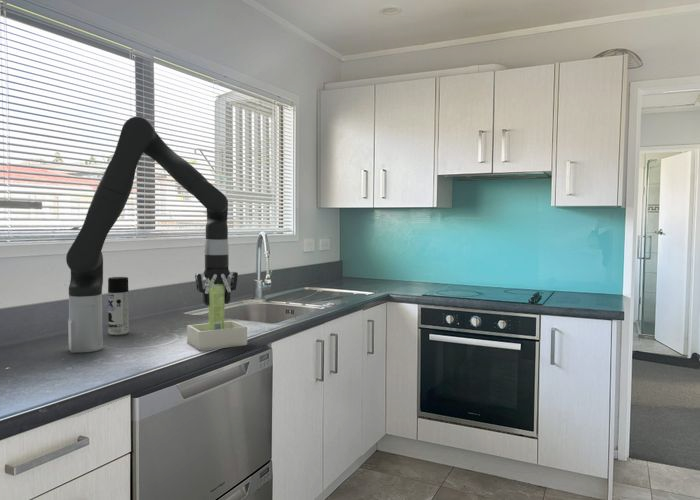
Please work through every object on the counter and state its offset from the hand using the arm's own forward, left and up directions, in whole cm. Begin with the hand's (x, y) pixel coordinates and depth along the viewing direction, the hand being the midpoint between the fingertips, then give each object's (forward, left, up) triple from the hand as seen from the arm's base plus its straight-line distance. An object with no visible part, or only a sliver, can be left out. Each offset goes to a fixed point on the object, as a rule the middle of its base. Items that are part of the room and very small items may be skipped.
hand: (216, 304), depth 174 cm
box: (0, 0, -13) cm, 13 cm away
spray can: (-24, +33, -13) cm, 43 cm away
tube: (0, 0, -11) cm, 11 cm away
